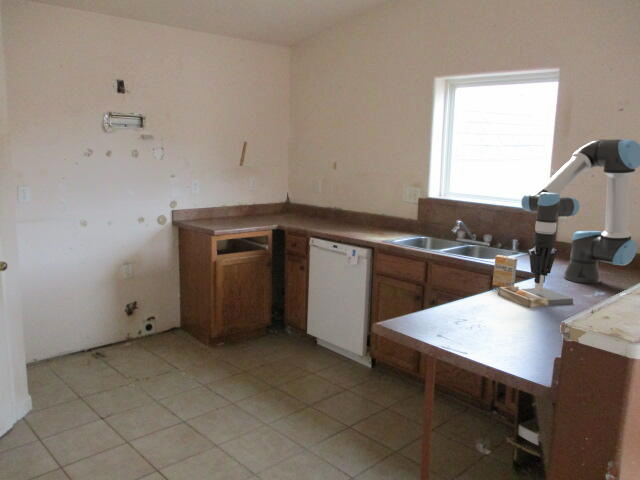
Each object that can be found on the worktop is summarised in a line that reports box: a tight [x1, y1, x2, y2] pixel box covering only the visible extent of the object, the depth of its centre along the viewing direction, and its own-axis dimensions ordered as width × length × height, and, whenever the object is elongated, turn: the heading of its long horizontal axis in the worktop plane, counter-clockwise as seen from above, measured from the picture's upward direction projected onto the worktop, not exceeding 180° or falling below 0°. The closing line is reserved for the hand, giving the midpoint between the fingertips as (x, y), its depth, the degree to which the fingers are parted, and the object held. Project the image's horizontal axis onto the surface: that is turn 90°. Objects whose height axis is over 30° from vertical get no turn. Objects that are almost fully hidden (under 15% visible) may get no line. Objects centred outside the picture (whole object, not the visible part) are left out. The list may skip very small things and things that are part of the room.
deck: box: [518, 287, 574, 306], centre depth 211 cm, size 13×16×2 cm
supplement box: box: [492, 254, 518, 287], centre depth 228 cm, size 8×5×13 cm, turn 52°
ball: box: [516, 290, 527, 298], centre depth 207 cm, size 4×4×4 cm
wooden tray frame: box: [497, 285, 549, 308], centre depth 208 cm, size 9×18×3 cm, turn 19°
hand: (538, 290), depth 210 cm, fingers closed
